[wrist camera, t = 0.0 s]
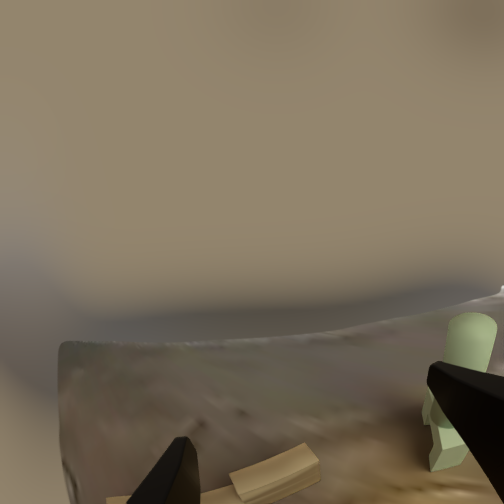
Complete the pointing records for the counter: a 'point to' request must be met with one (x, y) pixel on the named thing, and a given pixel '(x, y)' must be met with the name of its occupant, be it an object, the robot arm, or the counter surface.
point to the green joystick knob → (465, 355)
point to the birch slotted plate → (263, 480)
